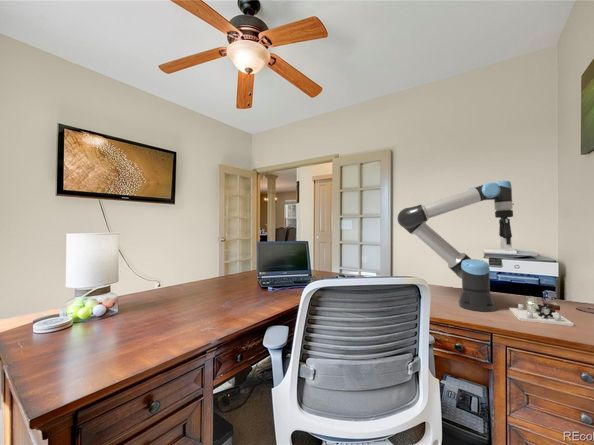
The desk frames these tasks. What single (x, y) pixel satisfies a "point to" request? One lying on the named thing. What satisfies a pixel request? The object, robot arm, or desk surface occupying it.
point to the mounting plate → (534, 317)
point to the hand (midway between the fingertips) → (506, 249)
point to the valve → (538, 307)
